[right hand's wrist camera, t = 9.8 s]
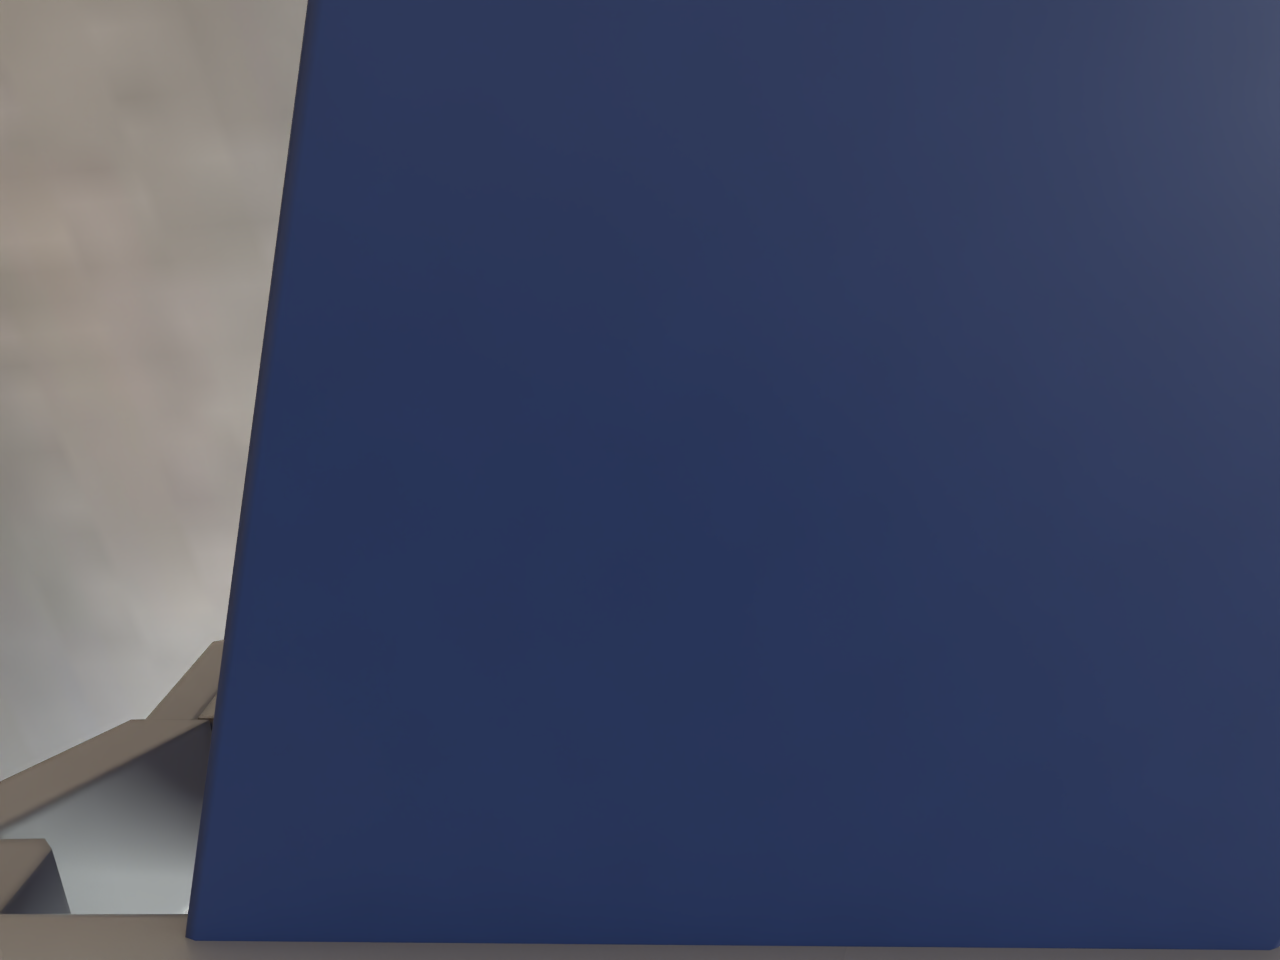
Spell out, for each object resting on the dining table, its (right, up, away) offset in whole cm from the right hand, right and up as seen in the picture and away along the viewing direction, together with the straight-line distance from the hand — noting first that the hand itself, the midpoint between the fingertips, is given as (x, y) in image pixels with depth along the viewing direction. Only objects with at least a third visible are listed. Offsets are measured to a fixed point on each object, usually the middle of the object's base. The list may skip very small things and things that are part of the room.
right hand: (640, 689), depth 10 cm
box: (+3, +11, +2) cm, 11 cm away
